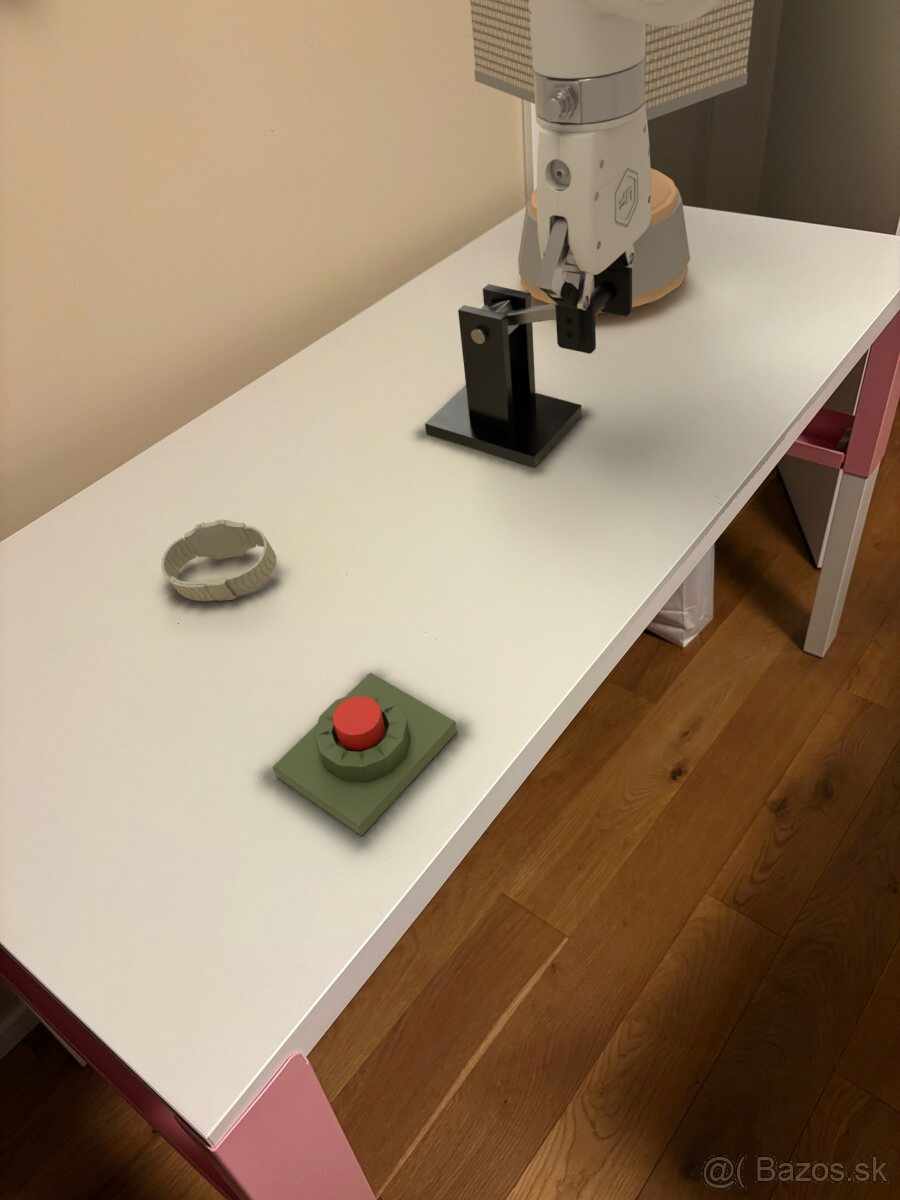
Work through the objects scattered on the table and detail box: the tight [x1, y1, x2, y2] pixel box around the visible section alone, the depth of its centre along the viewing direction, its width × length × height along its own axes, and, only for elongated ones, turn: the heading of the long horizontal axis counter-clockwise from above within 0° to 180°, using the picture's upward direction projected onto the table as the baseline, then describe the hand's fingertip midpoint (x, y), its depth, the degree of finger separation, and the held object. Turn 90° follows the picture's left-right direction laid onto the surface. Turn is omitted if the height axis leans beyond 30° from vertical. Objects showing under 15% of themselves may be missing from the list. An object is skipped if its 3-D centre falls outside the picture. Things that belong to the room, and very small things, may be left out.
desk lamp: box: [469, 0, 755, 314], centre depth 95 cm, size 22×19×37 cm
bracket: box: [424, 283, 583, 468], centre depth 86 cm, size 12×9×13 cm
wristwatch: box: [160, 519, 278, 602], centre depth 77 cm, size 9×6×5 cm
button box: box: [272, 672, 458, 836], centre depth 64 cm, size 10×8×3 cm
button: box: [333, 696, 385, 751], centre depth 63 cm, size 3×3×2 cm
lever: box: [480, 281, 616, 335], centre depth 80 cm, size 12×6×2 cm, turn 56°
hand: (595, 328), depth 78 cm, fingers closed on lever, 5 cm apart
